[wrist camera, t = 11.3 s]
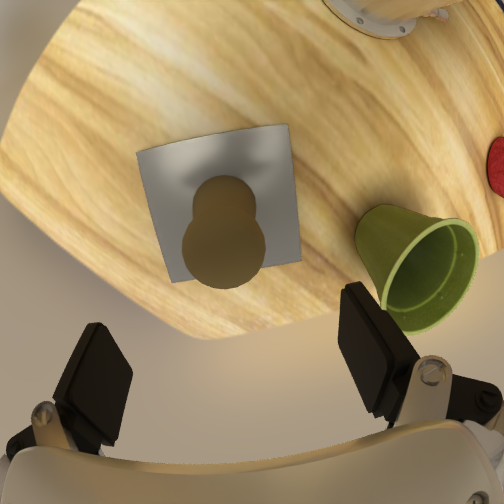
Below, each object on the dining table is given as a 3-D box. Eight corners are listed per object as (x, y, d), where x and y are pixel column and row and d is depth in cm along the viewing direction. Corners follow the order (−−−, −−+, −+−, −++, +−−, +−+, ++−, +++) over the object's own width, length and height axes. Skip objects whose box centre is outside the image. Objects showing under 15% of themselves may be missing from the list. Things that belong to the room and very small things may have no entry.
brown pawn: (256, 235, 27) (274, 302, 17) (194, 237, 26) (177, 305, 16) (256, 174, 24) (279, 207, 14) (190, 176, 24) (164, 211, 14)
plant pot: (331, 190, 26) (390, 230, 16) (419, 180, 27) (488, 211, 16) (334, 286, 32) (373, 352, 21) (412, 267, 32) (462, 316, 22)
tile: (285, 123, 23) (287, 123, 22) (299, 256, 29) (301, 260, 28) (139, 151, 23) (136, 152, 22) (173, 278, 29) (171, 283, 28)
